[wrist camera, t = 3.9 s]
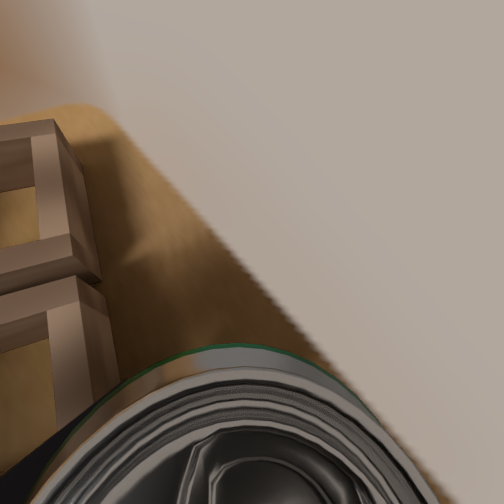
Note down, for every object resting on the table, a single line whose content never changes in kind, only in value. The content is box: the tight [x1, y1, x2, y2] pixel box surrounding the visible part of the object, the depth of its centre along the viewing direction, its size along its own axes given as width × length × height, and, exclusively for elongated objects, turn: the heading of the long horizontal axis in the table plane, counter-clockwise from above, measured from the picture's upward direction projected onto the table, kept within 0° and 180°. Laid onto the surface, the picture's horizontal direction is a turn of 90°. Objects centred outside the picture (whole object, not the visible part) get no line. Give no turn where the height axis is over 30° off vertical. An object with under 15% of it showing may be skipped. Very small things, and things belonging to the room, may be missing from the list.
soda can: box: [22, 343, 440, 504], centre depth 7 cm, size 5×5×12 cm
